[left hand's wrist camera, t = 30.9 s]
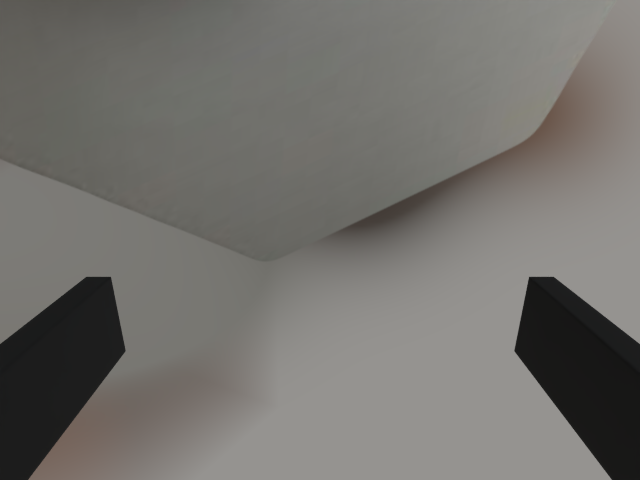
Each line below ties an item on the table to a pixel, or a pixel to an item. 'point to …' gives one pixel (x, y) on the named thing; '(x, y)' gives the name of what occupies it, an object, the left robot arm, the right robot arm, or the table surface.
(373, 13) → the table surface
